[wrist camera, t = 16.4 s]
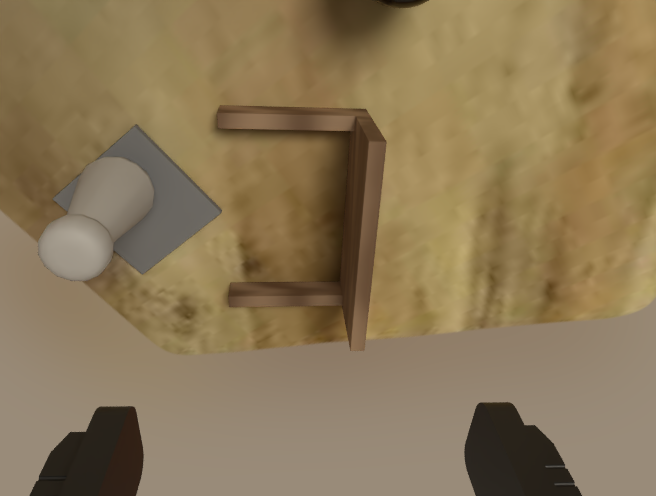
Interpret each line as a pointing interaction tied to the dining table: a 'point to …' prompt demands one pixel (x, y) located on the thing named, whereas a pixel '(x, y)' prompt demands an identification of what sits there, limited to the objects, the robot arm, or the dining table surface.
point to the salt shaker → (96, 218)
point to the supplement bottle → (401, 3)
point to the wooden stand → (358, 214)
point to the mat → (155, 203)
